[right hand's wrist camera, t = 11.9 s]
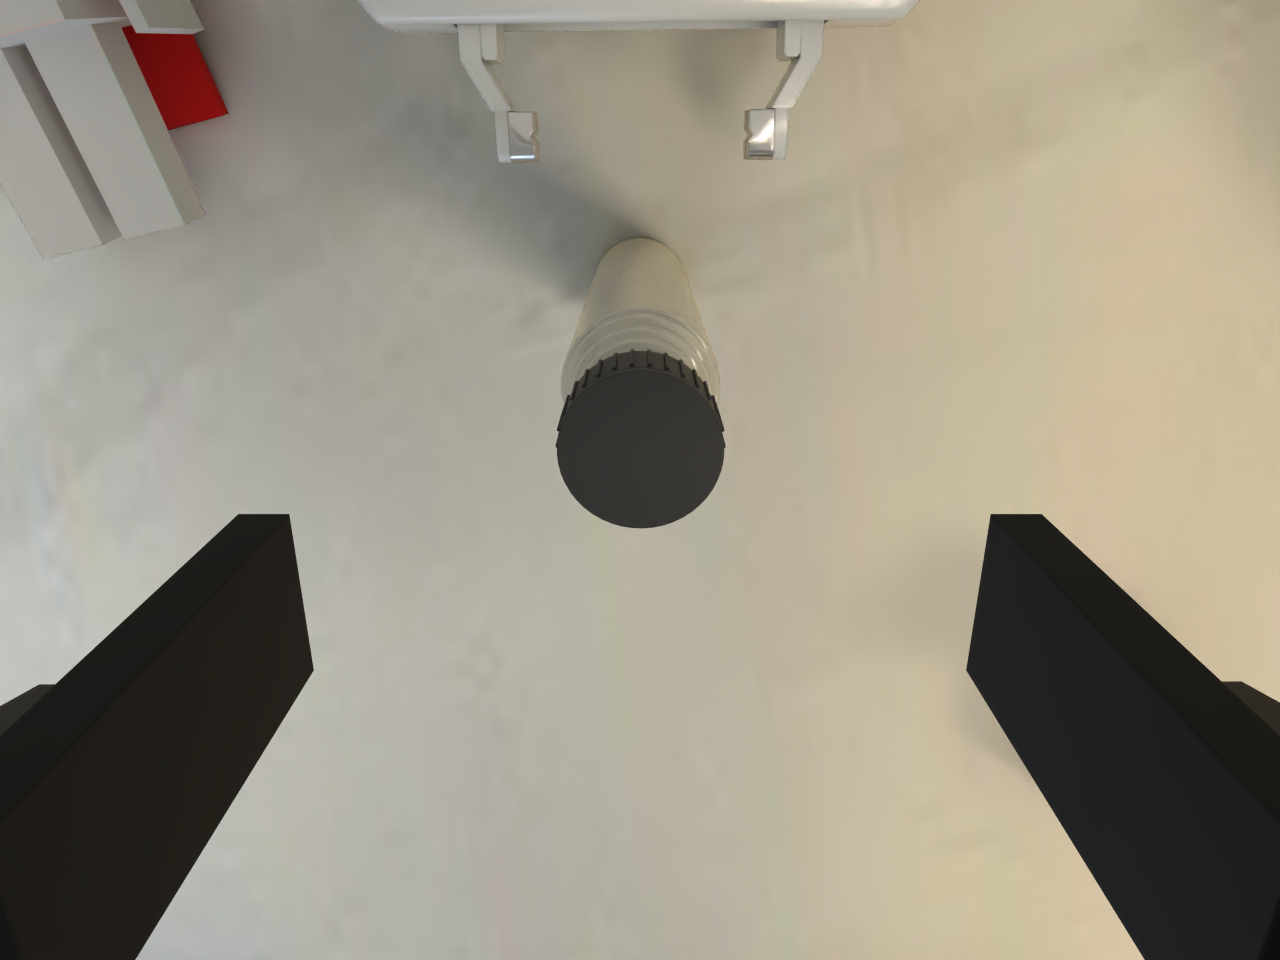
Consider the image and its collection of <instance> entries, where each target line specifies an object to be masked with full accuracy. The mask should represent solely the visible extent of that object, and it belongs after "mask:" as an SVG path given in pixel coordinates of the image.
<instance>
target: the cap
mask: <svg viewBox="0 0 1280 960" xmlns="http://www.w3.org/2000/svg"><path fill="white" fill-rule="evenodd" d="M557 431H559V434H558V439H557V442H556V448H557V457H558V464H559V468H560V472H561V475H562V477H563V480H564V482H565V484H566V486H567V487H568V489H569V491H570V492H571V494H572V495H573V496H574V497H575V499H576V500H577V501H578V502H579V503H580V504H581V505H582V506H583V507H584V508H585V509H587V510H588V511H589V512H591V513H592V514H594V515H595V516H597V517H599V518H600V519H602V520H605V521H607V522H609V523H612V524H616V525H619V526H623V527H630V528H652V527H658V526H662V525H666V524H669V523H672V522H674V521H676V520H679V519H681V518H683V517H684V516H686V515H687V514H689V513H691V512H692V511H693V510H694V509H696V508H697V507H698V506H699V505H700V504H701V503H702V502H703V501H704V500H705V499H706V498H707V497H708V495H709V494H710V492H711V491H712V490H713V488H714V486H715V484H716V482H717V480H718V478H719V475H720V472H721V469H722V465H723V460H724V448H725V442H724V438H723V434H722V432H723V431H724V427H723V423H722V420H721V417H720V413H719V410H718V407H717V403H716V400H715V397H714V395H712V396H711V394H710V392H709V388H708V385H707V382H706V381H704V382H703V381H702V379H701V378H700V377H699V376H698V375H697V371H696V370H695V369H693V370H692V369H691V368H689V367H688V366H687V365H685V364H684V363H683V360H681V359H680V360H677V359H675V358H673V357H670V356H668V353H665V352H664V354H661V353H657V352H651V349H648V350H647V351H634V349H631V350H630V351H629V352H624V353H620V354H618V353H617V352H616V353H614V356H611V357H608V358H606V359H604V360H602V359H600V360H598V363H597V364H596V365H595V366H593V367H592V368H590V369H588V368H587V369H586V370H585V373H584V375H583V376H582V377H581V379H580V380H579V381H575V382H574V386H573V389H572V392H571V394H570V395H567V397H566V401H565V404H564V408H563V410H562V414H561V417H560V421H559V424H558V428H557Z"/></svg>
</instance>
